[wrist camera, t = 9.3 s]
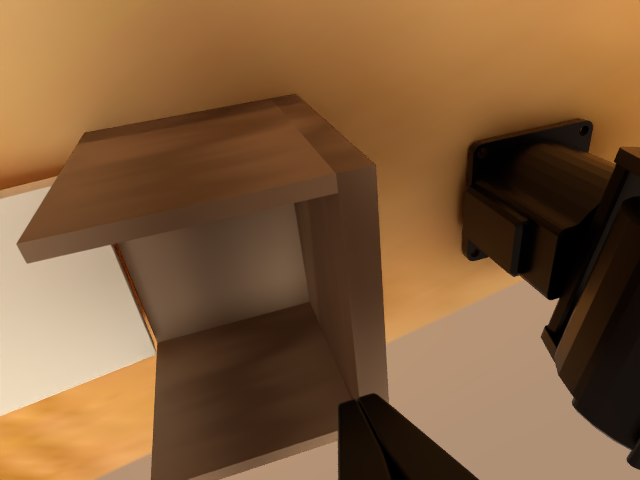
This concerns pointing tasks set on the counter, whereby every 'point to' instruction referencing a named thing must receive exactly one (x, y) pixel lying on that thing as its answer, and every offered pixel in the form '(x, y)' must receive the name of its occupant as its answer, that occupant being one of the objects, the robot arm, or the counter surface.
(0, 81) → the counter surface
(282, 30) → the counter surface
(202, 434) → the open wooden box
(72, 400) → the counter surface
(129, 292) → the cabinet door
